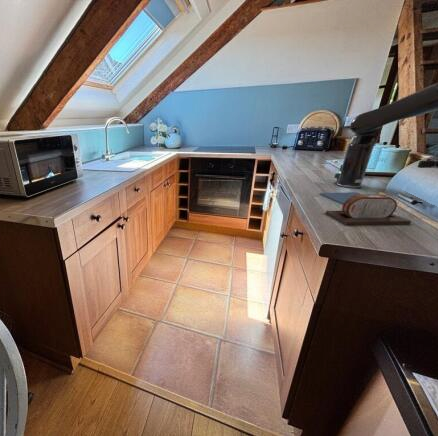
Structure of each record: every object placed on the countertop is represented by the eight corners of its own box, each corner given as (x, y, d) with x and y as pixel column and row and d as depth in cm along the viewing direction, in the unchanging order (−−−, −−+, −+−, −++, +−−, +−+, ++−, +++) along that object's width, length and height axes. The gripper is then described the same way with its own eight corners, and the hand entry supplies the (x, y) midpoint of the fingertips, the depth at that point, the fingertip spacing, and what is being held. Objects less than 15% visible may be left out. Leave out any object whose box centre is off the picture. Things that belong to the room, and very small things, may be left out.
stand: (325, 213, 87) (326, 210, 86) (382, 213, 86) (383, 209, 86) (346, 225, 78) (347, 221, 77) (410, 224, 77) (411, 221, 77)
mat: (320, 194, 108) (320, 193, 108) (356, 193, 108) (356, 192, 108) (343, 204, 95) (343, 203, 95) (384, 203, 95) (384, 202, 95)
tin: (385, 217, 83) (395, 193, 79) (393, 221, 80) (403, 196, 77) (338, 216, 84) (345, 193, 81) (344, 220, 81) (352, 196, 78)
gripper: (465, 150, 80) (415, 151, 80) (528, 156, 66) (467, 157, 67) (455, 172, 82) (406, 174, 83) (513, 183, 69) (454, 184, 70)
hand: (433, 166), depth 75 cm, fingers open, 8 cm apart
